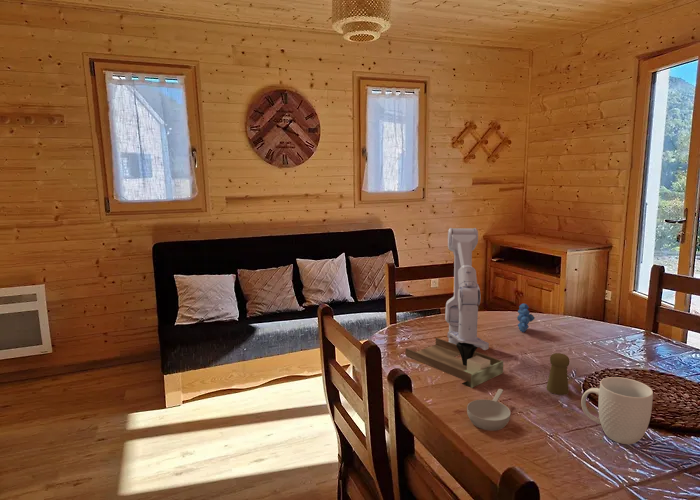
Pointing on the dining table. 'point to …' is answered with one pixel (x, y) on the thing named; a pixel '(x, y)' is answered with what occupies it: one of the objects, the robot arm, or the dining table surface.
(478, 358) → the cream block
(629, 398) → the mug
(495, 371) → the olive long flat tray
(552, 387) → the cork
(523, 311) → the grapes
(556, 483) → the dining table surface
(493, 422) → the saucepan
